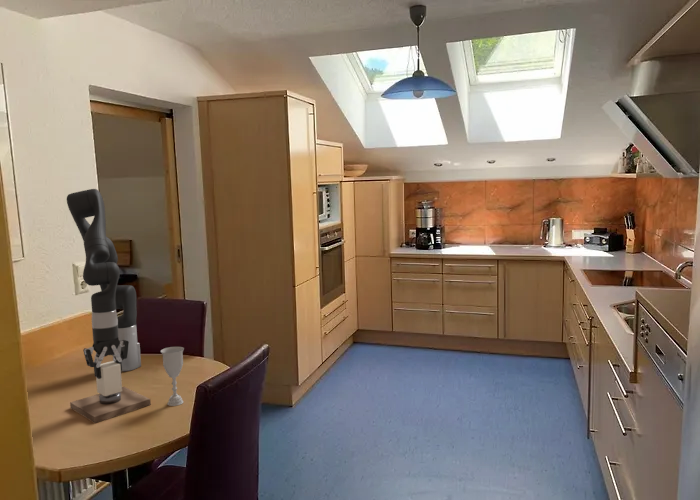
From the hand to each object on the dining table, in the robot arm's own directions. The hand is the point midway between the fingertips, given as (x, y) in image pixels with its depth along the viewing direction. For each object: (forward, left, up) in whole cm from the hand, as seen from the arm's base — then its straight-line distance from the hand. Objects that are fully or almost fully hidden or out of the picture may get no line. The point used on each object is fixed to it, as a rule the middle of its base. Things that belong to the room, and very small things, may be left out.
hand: (108, 375), depth 175 cm
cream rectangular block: (0, 0, -5) cm, 5 cm away
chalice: (-15, +14, -11) cm, 23 cm away
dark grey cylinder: (0, 0, -8) cm, 8 cm away
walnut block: (0, 0, -10) cm, 10 cm away
